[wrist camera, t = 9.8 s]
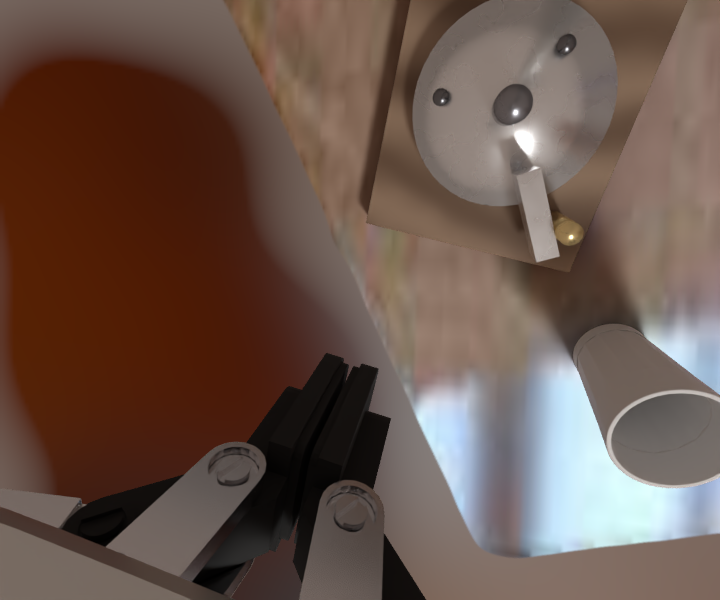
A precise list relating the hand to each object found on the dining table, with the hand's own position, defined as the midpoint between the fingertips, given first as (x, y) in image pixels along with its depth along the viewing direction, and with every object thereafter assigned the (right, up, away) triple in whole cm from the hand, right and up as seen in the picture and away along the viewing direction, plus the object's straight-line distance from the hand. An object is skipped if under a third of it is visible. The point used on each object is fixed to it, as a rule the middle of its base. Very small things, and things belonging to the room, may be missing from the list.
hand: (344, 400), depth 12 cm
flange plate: (+12, +16, +18) cm, 27 cm away
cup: (+24, -2, +25) cm, 35 cm away
